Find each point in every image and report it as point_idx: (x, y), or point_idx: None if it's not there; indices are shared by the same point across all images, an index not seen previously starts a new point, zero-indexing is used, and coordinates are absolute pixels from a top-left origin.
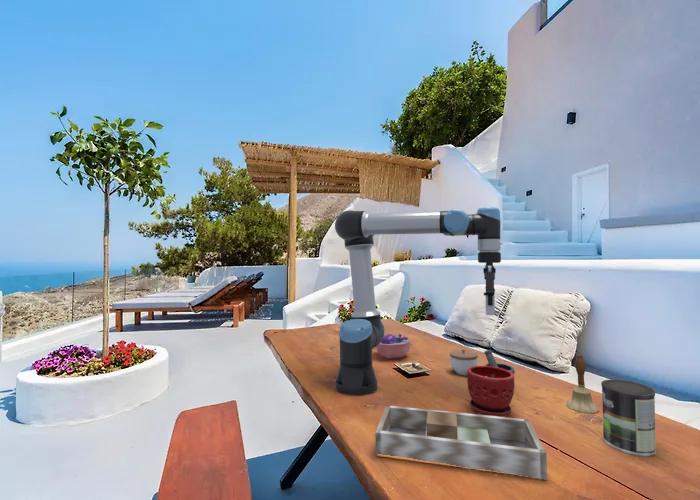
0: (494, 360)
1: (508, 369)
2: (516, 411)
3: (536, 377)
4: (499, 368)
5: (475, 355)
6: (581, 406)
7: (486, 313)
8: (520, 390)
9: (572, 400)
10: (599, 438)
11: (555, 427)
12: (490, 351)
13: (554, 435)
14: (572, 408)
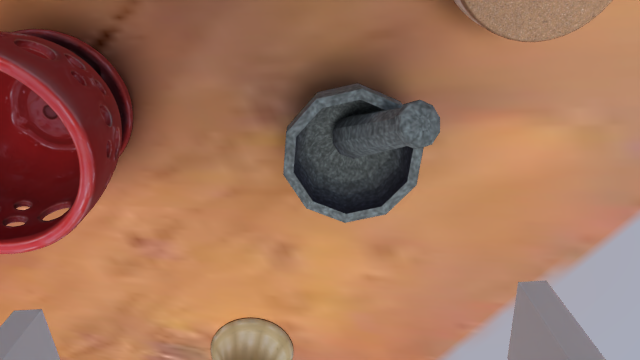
0: (380, 146)
1: (387, 191)
2: (116, 185)
3: (508, 259)
4: (78, 195)
5: (510, 29)
6: (218, 356)
7: (6, 329)
8: None
9: (236, 345)
10: None
11: (60, 277)
12: (403, 142)
13: (5, 271)
14: (221, 330)
